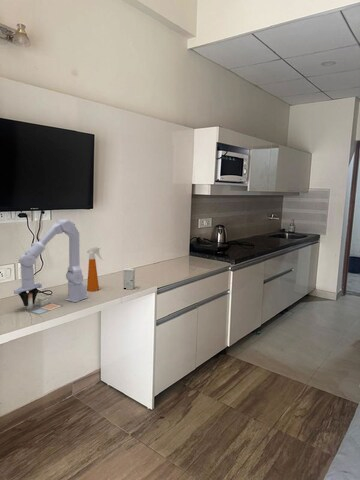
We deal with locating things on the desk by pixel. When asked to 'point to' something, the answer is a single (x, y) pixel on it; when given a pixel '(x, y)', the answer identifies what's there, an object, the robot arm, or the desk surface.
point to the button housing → (41, 302)
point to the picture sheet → (42, 308)
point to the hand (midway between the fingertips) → (29, 304)
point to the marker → (30, 302)
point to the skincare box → (129, 278)
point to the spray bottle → (93, 270)
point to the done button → (41, 299)
